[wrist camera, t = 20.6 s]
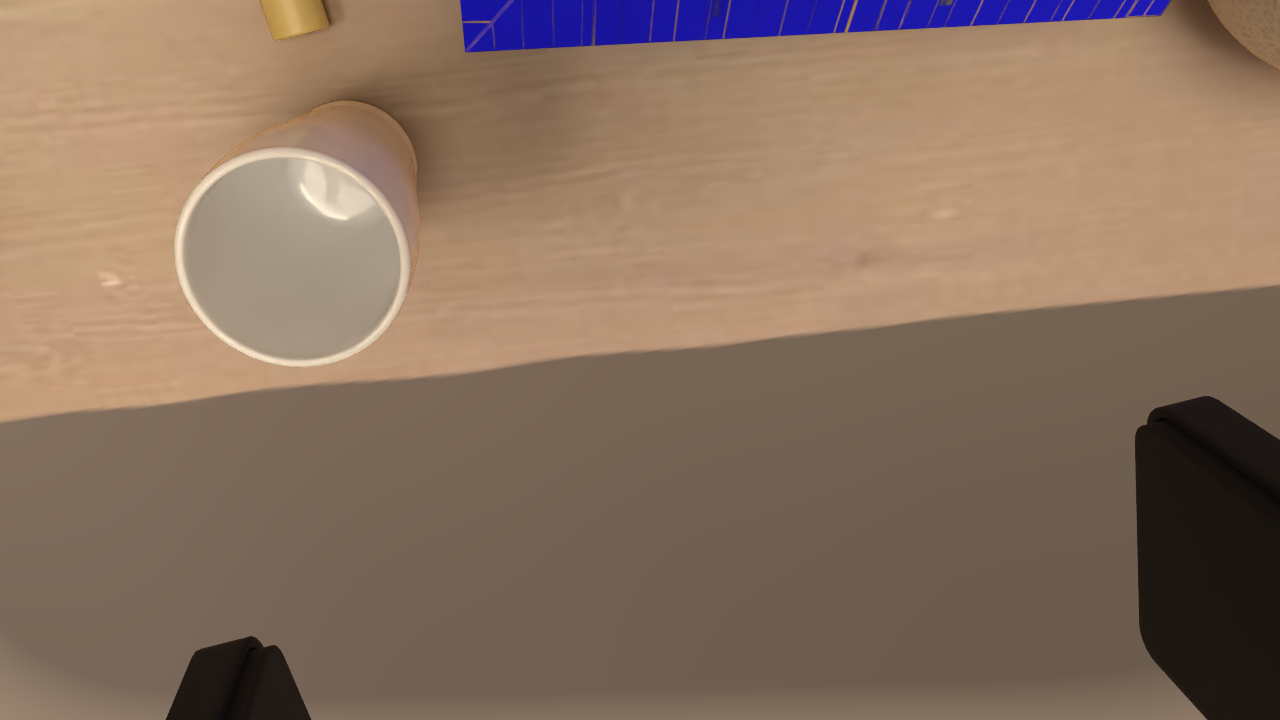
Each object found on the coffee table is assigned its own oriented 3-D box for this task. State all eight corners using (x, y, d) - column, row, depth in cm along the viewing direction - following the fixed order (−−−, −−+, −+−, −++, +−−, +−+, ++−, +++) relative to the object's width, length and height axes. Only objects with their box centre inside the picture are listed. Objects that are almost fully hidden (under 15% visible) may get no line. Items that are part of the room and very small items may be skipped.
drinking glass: (419, 69, 43) (387, 129, 29) (448, 229, 46) (432, 353, 32) (251, 91, 43) (138, 162, 29) (290, 251, 45) (205, 387, 31)
